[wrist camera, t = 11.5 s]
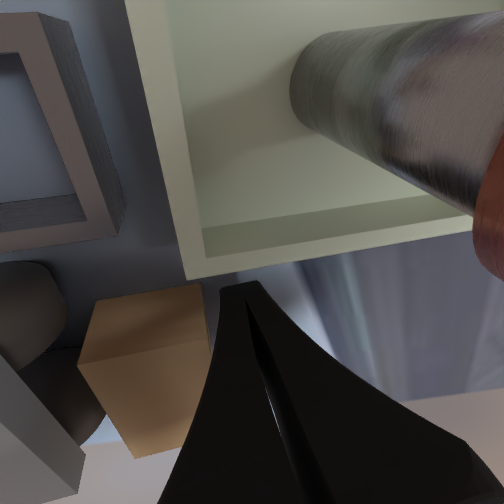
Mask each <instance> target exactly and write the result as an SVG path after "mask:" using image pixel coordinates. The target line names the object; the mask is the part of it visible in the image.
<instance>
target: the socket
mask: <svg viewBox="0 0 504 504" xmlns="http://www.w3.org/2000/svg"><path fill="white" fill-rule="evenodd" d="M0 54H19V55H20V57H21V60H22V62H23V65H24V67H25V69H26V72H27V74H28V77H29V79H30V82H31V84H32V86H33V89H34V91H35V94H36V96H37V99H38V101H39V103H40V106H41V108H42V111H43V113H44V116H45V118H46V121H47V123H48V125H49V128H50V130H51V133H52V135H53V138H54V140H55V142H56V145H57V147H58V150H59V152H60V155H61V157H62V160H63V162H64V164H65V167H66V169H67V172H68V174H69V177H70V179H71V181H72V184H73V186H74V189H75V191H76V194H74V195H66V196H58V197H50V198H42V199H34V200H26V201H17V202H9V203H1V204H0V253H7V252H14V251H21V250H27V249H34V248H41V247H48V246H55V245H61V244H68V243H75V242H82V241H88V240H95V239H102V238H109V237H116V236H118V232H119V229H120V225H121V222H122V218H123V215H124V211H125V207H126V203H125V200H124V196H123V193H122V190H121V187H120V184H119V180H118V177H117V174H116V171H115V168H114V165H113V161H112V158H111V155H110V152H109V149H108V146H107V142H106V139H105V136H104V133H103V130H102V126H101V123H100V120H99V117H98V114H97V111H96V107H95V104H94V101H93V98H92V95H91V92H90V88H89V85H88V82H87V79H86V76H85V72H84V69H83V66H82V63H81V60H80V57H79V53H78V50H77V47H76V44H75V41H74V38H73V34H72V31H71V28H70V25H69V22H68V21H64V20H61V19H58V18H55V17H51V16H48V15H45V14H42V13H38V12H26V13H0Z"/></svg>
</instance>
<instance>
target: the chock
mask: <svg viewBox="0 0 504 504" xmlns="http://www.w3.org/2000/svg"><path fill="white" fill-rule="evenodd" d="M212 354H213V349H212V343H211V338H210V332H209V327H208V322H207V316H206V311H205V305H204V300H203V294H202V289H201V284H200V283H195V284H189V285H184V286H178V287H172V288H167V289H161V290H155V291H150V292H144V293H139V294H133V295H127V296H122V297H116V298H110V299H105V300H99V301H96V304H95V307H94V310H93V314H92V317H91V320H90V324H89V327H88V330H87V333H86V337H85V340H84V343H83V347H82V350H81V353H80V357H79V360H78V363H77V367H78V368H79V370H80V372H81V373H82V375H83V376H84V378H85V380H86V381H87V383H88V385H89V386H90V388H91V389H92V391H93V393H94V394H95V396H96V397H97V399H98V401H99V402H100V404H101V405H102V407H103V409H104V410H105V412H106V413H107V415H108V417H109V418H110V420H111V421H112V423H113V425H114V426H115V428H116V429H117V431H118V433H119V434H120V436H121V437H122V439H123V441H124V442H125V444H126V445H127V447H128V449H129V450H130V452H131V453H132V455H133V457H134V458H135V459H137V458H141V457H145V456H148V455H152V454H156V453H159V452H164V451H167V450H171V449H175V448H179V447H182V446H183V444H184V441H185V439H186V437H187V434H188V431H189V429H190V426H191V423H192V421H193V418H194V415H195V412H196V409H197V406H198V404H199V401H200V398H201V395H202V391H203V388H204V385H205V382H206V378H207V375H208V371H209V367H210V363H211V359H212Z"/></svg>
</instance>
